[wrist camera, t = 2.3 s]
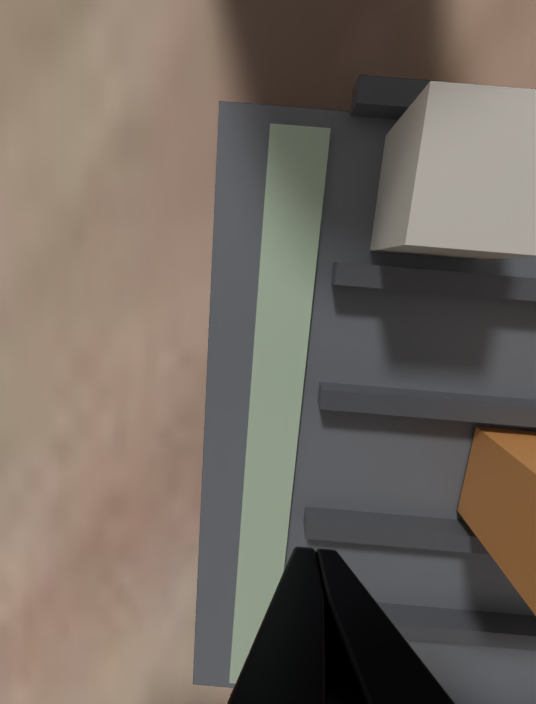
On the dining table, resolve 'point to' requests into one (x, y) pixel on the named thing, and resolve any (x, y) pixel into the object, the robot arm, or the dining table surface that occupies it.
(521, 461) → the handle
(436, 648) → the board
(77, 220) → the dining table surface
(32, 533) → the dining table surface
